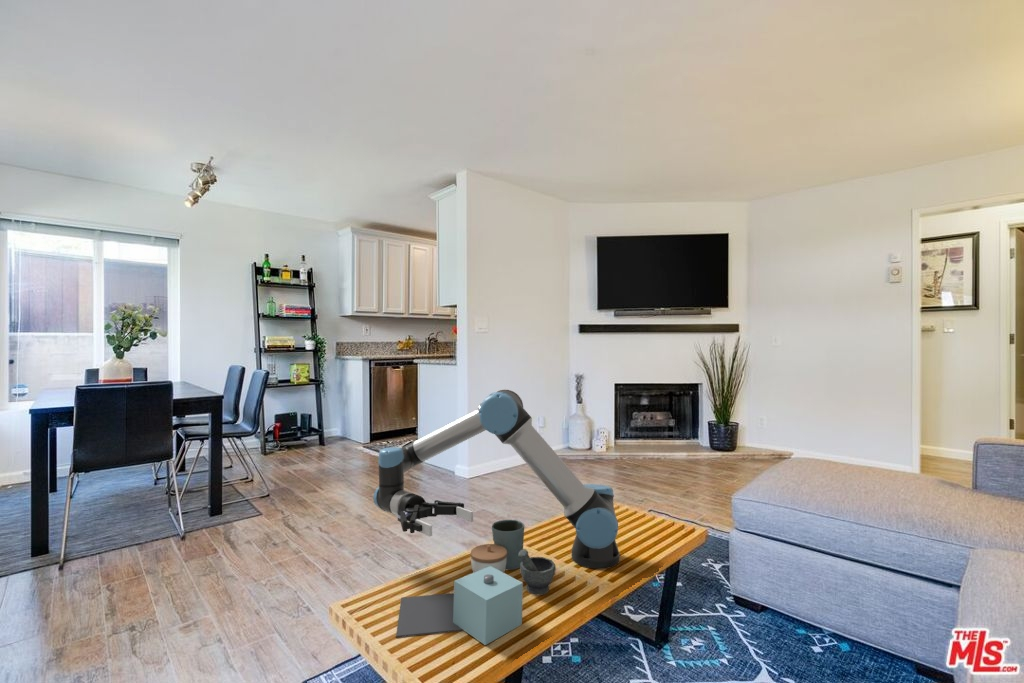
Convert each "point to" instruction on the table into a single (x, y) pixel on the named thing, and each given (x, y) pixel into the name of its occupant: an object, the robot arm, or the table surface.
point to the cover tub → (487, 604)
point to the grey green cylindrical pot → (509, 540)
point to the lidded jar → (489, 557)
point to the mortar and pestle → (536, 572)
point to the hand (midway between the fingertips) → (452, 523)
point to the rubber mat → (426, 615)
